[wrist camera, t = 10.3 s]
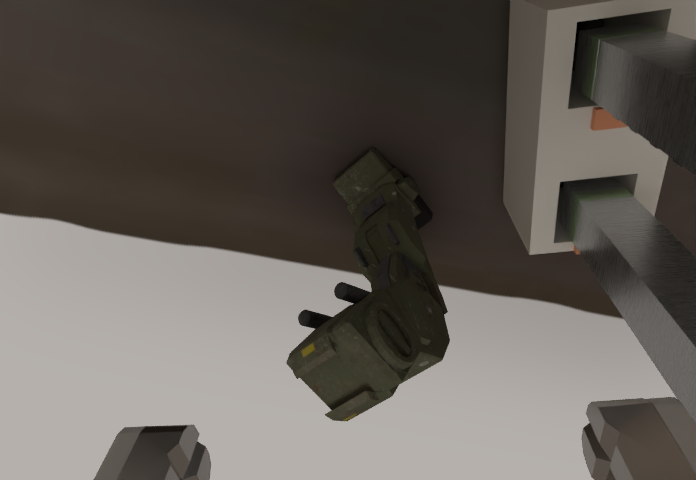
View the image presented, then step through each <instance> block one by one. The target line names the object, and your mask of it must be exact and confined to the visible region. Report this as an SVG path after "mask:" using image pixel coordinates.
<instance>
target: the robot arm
mask: <svg viewBox="0 0 696 480" xmlns="http://www.w3.org/2000/svg"><path fill="white" fill-rule="evenodd" d="M586 414H587V417H588V419H589V421H590V423H589V424H588V425H587V426H585V427H584V428H583V434H582V446H583V453H584V456H585V460H586V464H587V467H588V469H589V472H590V474H591V477H592V478H593V479H594V480H696V423H695V422H694V420H693V419H692V417H691V416H690V414H689V413H688V411H687V410H686V409H685V407H684V406H683V404H682V403H681V402H680V401H679V400H678V399H676V398H674V397H668V398H667V397H666V398H653V399H643V398H640V399H625V400H612V401H597V402H591V403H590V404H589V405H588V408H587V412H586ZM198 437H199V433H198V431H197V429H196V428H195V426H194V425H175V426H144V427H126V428H124V429H123V430H122V431H120V432H119V433H118V435H117V436H116V438H115V440H114V442H113V444H112V446H111V448H110V449H109V452H108V454H107V455H106V457H105V459H104V461H103V463H102V465H101V467H100V469H99V471H98V473H97V475H96V477H95V478H94V480H209V479H210V469H211V461H210V456H209V452H208V450H207V448H206V447H205V446H204V445H202V444H200V443H199V442H197V439H198Z"/></svg>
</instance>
